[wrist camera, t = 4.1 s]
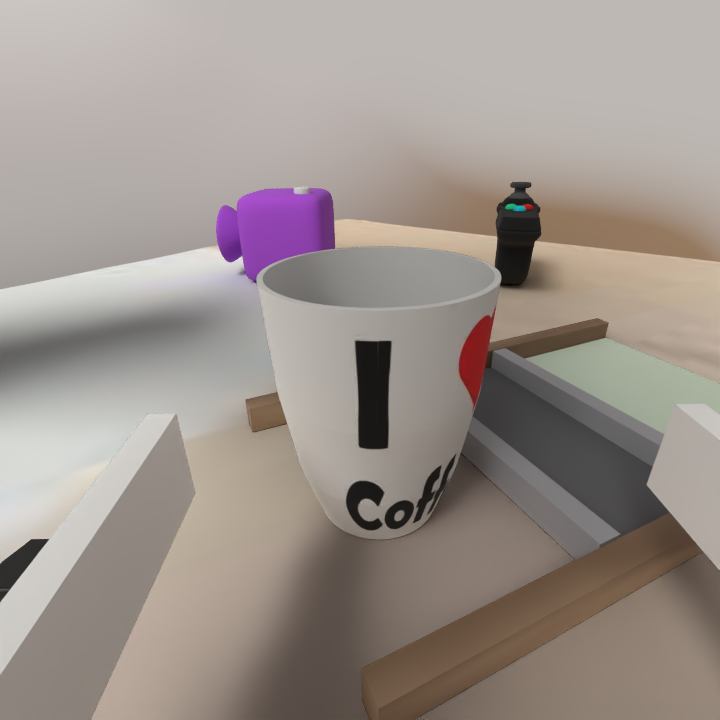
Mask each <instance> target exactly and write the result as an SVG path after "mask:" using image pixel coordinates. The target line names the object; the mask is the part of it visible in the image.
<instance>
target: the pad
mask: <svg viewBox="0 0 720 720" xmlns="http://www.w3.org/2000/svg"><path fill="white" fill-rule="evenodd" d="M525 359H526V360H528V361H530V362H532V363H533V364H535V365H537V366H539V367H541V368H543V369H545V370H546V371H548V372H550V373H552V374H554V375H556V376H557V377H559V378H561V379H563V380H565V381H567V382H569V383H570V384H572V385H574V386H576V387H578V388H580V389H582V390H583V391H585V392H587V393H589V394H591V395H593V396H594V397H596V398H598V399H600V400H602V401H604V402H606V403H607V404H609V405H611V406H613V407H615V408H617V409H618V410H620V411H622V412H624V413H626V414H628V415H630V416H631V417H633V418H635V419H637V420H639V421H641V422H642V423H644V424H646V425H648V426H650V427H652V428H654V429H655V430H657V431H659V432H661V433H663V434H665V431H666V428H667V426H668V423H669V420H670V417H671V414H672V412H673V409H674V406H675V404H706V405H707V406H708V407H710V408H711V409H712V410H714V411H715V412H716V413H718V414H719V415H720V383H718V382H715V381H713V380H710V379H708V378H705V377H703V376H700V375H698V374H695V373H693V372H690V371H688V370H685V369H683V368H680V367H678V366H675V365H673V364H670V363H668V362H665V361H663V360H660V359H658V358H655V357H653V356H650V355H648V354H645V353H643V352H640V351H638V350H635V349H633V348H631V347H628V346H626V345H623V344H621V343H618V342H616V341H613V340H611V339H608V338H603V339H599V340H595V341H591V342H587V343H583V344H580V345H576V346H572V347H568V348H564V349H560V350H556V351H552V352H548V353H544V354H541V355H537V356H533V357H529V358H525Z"/></svg>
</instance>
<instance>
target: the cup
mask: <svg viewBox="0 0 720 720" xmlns="http://www.w3.org/2000/svg"><path fill="white" fill-rule="evenodd" d="M256 281H257V287H258V292H259V297H260V303H261V308H262V313H263V319H264V324H265V329H266V334H267V340H268V345H269V350H270V356H271V361H272V366H273V371H274V377H275V382H276V387H277V392H278V396H279V399H280V402H281V405H282V408H283V412H284V415H285V418H286V421H287V424H288V427H289V430H290V434H291V437H292V440H293V443H294V446H295V449H296V453H297V456H298V459H299V462H300V465H301V468H302V470H303V472H304V474H305V476H306V478H307V480H308V482H309V483H310V485H311V487H312V489H313V491H314V493H315V495H316V497H317V499H318V501H319V503H320V504H321V506H322V508H323V510H324V512H325V514H326V515H327V517H328V518H329V519H330V521H331V522H332V523H333V524H335V525H336V526H337V527H338V528H340V529H341V530H343V531H345V532H347V533H349V534H352V535H354V536H357V537H361V538H366V539H376V540H382V539H392V538H397V537H401V536H404V535H407V534H409V533H411V532H413V531H415V530H416V529H418V528H419V527H421V526H422V525H423V524H424V523H425V522H426V521H427V520H428V519H429V517H430V516H431V514H432V512H433V511H434V509H435V507H436V505H437V503H438V501H439V499H440V497H441V495H442V494H443V492H444V490H445V488H446V486H447V484H448V482H449V480H450V479H451V477H452V475H453V473H454V471H455V469H456V466H457V463H458V460H459V457H460V453H461V450H462V447H463V444H464V441H465V438H466V435H467V431H468V428H469V425H470V422H471V419H472V416H473V413H474V409H475V406H476V403H477V400H478V397H479V394H480V389H481V384H482V379H483V373H484V368H485V363H486V357H487V352H488V347H489V341H490V336H491V331H492V326H493V320H494V315H495V310H496V304H497V299H498V294H499V288H500V283H501V274H500V272H499V271H498V269H497V268H495V267H494V266H493V265H491V264H489V263H487V262H485V261H483V260H480V259H477V258H474V257H471V256H467V255H463V254H459V253H454V252H449V251H443V250H435V249H427V248H415V247H394V246H373V247H351V248H339V249H330V250H323V251H316V252H311V253H306V254H301V255H297V256H293V257H289V258H286V259H283V260H280V261H277V262H275V263H273V264H271V265H269V266H267V267H265V268H264V269H263V270H261V271H260V272H259V274H258V275H257V278H256Z"/></svg>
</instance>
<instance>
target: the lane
mask: <svg viewBox="0 0 720 720" xmlns="http://www.w3.org/2000/svg"><path fill="white" fill-rule="evenodd" d="M607 327H608V322H606V321H603V320H600V319H598V318H596V319H592V320H588V321H583V322H579V323H575V324H570V325H566V326H562V327H558V328H553V329H549V330H545V331H540V332H536V333H532V334H527V335H523V336H519V337H514V338H510V339H506V340H501V341H497V342H493V343H489V347H488V352H487V357H486V363H485V368H484V369H486V368H490V367H491V364H492V356H493V351H495V350H500V349H504V348H506V349H508V350H509V351H511V352H513V353H515V354H517V355H519V356H521V357H522V358H524V359H525V358H529V357H533V356H537V355H541V354H544V353H548V352H552V351H556V350H560V349H564V348H568V347H572V346H576V345H580V344H583V343H587V342H591V341H595V340H599V339H603V338H605V335H606V331H607ZM246 406H247V413H248V419H249V424H250V426H251V429H252V431H253V432H255V431H259V430H263V429H267V428H271V427H275V426H278V425H282V424H286V423H287V421H286V418H285V415H284V412H283V408H282V405H281V402H280V399H279V396H278V392H277V393H272V394H268V395H264V396H259V397H255V398H251V399H246ZM701 552H703V551H702V549H701V548H700V547H699V546H698V545H697V543H696V542H695V541H694V540H693V539H692V538H691V536H690V535H689V534H688V533H687V532H686V531H685V529H684V528H683V527H682V526H681V525H680V524H679V522H678V521H677V520H676V519H675V518H674V517H673V515H672V514H671V513H668V514H666V515H664V516H662V517H660V518H658V519H656V520H654V521H652V522H650V523H648V524H646V525H644V526H642V527H640V528H638V529H636V530H634V531H632V532H630V533H628V534H626V535H624V536H622V537H620V538H618V539H617V540H615V541H613V542H611V543H609V544H607V545H605V546H603V547H601V548H599V549H597V550H595V551H593V552H591V553H589V554H587V555H585V556H583V557H581V558H579V559H577V560H575V561H573V562H571V563H569V564H567V565H565V566H563V567H561V568H559V569H557V570H555V571H553V572H551V573H549V574H547V575H545V576H543V577H541V578H539V579H538V580H536V581H534V582H532V583H530V584H528V585H526V586H524V587H522V588H520V589H518V590H516V591H514V592H512V593H510V594H508V595H506V596H504V597H502V598H500V599H498V600H496V601H494V602H492V603H490V604H488V605H486V606H484V607H482V608H480V609H478V610H476V611H474V612H472V613H470V614H468V615H466V616H464V617H462V618H460V619H458V620H457V621H455V622H453V623H451V624H449V625H447V626H445V627H443V628H441V629H439V630H437V631H435V632H433V633H431V634H429V635H427V636H425V637H423V638H421V639H419V640H417V641H415V642H413V643H411V644H409V645H407V646H405V647H403V648H401V649H399V650H397V651H395V652H393V653H391V654H389V655H387V656H385V657H383V658H381V659H379V660H378V661H376V662H374V663H372V664H370V665H368V666H366V667H364V668H362V669H361V681H362V701H363V704H364V706H365V709H366V711H367V714H368V716H369V719H370V720H414V719H416V718H418V717H419V716H421V715H423V714H424V713H426V712H428V711H430V710H431V709H433V708H435V707H436V706H438V705H440V704H442V703H443V702H445V701H447V700H448V699H450V698H452V697H454V696H455V695H457V694H459V693H460V692H462V691H464V690H466V689H467V688H469V687H471V686H473V685H474V684H476V683H478V682H479V681H481V680H483V679H485V678H486V677H488V676H490V675H491V674H493V673H495V672H497V671H498V670H500V669H502V668H503V667H505V666H507V665H509V664H510V663H512V662H514V661H515V660H517V659H519V658H521V657H522V656H524V655H526V654H527V653H529V652H531V651H533V650H534V649H536V648H538V647H540V646H541V645H543V644H545V643H546V642H548V641H550V640H552V639H553V638H555V637H557V636H558V635H560V634H562V633H564V632H565V631H567V630H569V629H570V628H572V627H574V626H576V625H577V624H579V623H581V622H582V621H584V620H586V619H588V618H589V617H591V616H593V615H594V614H596V613H598V612H600V611H601V610H603V609H605V608H607V607H608V606H610V605H612V604H613V603H615V602H617V601H619V600H620V599H622V598H624V597H625V596H627V595H629V594H631V593H632V592H634V591H636V590H637V589H639V588H641V587H643V586H644V585H646V584H648V583H649V582H651V581H653V580H655V579H656V578H658V577H660V576H661V575H663V574H665V573H667V572H668V571H670V570H672V569H674V568H675V567H677V566H679V565H680V564H682V563H684V562H686V561H687V560H689V559H691V558H692V557H694V556H696V555H698V554H699V553H701Z"/></svg>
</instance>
